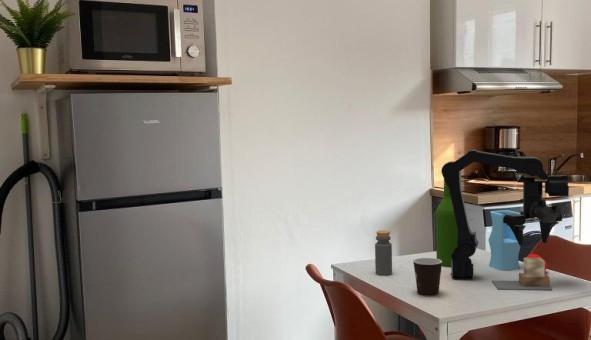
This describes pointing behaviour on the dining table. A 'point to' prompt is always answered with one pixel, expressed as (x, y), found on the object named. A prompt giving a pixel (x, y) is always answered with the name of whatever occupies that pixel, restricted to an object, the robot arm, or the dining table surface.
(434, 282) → the coffee mug
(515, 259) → the vase
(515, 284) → the mat
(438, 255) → the wine bottle
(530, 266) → the birch cube
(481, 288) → the dining table surface
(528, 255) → the apple
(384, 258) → the bottle
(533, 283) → the brown block
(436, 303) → the dining table surface
